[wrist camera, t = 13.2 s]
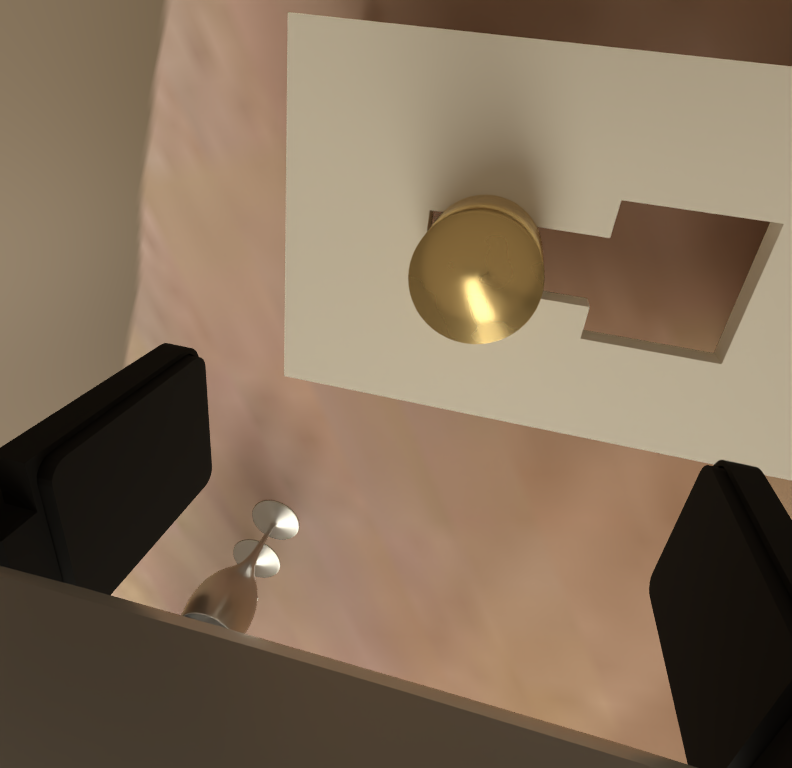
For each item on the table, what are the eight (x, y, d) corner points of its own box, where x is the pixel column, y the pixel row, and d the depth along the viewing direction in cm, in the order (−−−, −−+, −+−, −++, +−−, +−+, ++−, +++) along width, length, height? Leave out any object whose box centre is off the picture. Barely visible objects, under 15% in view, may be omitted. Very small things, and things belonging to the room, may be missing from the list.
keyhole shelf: (881, 95, 26) (1054, 94, 17) (743, 386, 34) (815, 485, 25) (358, 36, 30) (287, 12, 21) (341, 311, 37) (284, 375, 29)
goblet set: (254, 486, 47) (164, 612, 35) (314, 518, 47) (244, 653, 36) (181, 653, 61) (99, 782, 49) (227, 676, 61) (156, 810, 50)
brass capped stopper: (550, 182, 28) (559, 224, 19) (528, 277, 30) (527, 355, 21) (453, 168, 28) (416, 202, 19) (439, 262, 31) (401, 331, 22)
